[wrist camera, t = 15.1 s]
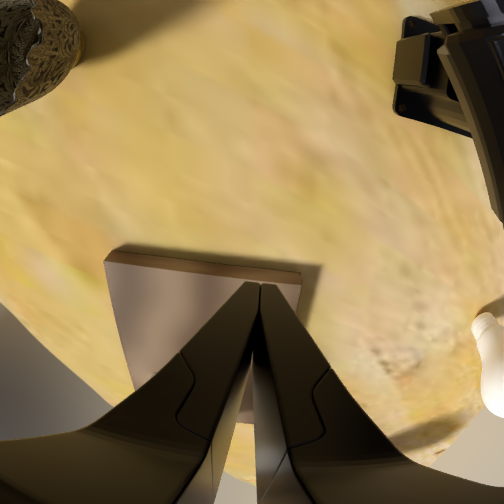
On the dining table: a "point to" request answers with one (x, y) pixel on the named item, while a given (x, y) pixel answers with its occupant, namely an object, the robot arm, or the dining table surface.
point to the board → (177, 307)
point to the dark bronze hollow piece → (35, 49)
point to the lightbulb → (491, 360)
